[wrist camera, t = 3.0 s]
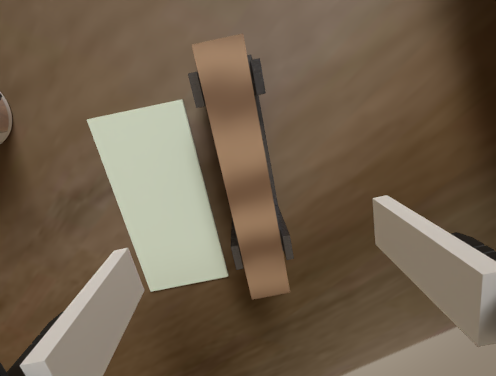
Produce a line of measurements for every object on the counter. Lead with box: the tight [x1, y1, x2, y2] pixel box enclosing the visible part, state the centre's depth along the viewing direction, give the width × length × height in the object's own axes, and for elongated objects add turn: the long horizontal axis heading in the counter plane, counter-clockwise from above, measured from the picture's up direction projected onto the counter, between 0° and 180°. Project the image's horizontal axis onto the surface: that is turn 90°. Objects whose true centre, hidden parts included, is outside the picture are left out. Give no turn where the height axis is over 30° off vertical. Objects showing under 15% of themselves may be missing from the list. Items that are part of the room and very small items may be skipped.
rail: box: [192, 34, 290, 300], centre depth 27 cm, size 24×4×6 cm, turn 11°
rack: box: [188, 55, 294, 270], centre depth 33 cm, size 25×7×12 cm, turn 11°
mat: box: [87, 99, 228, 292], centre depth 41 cm, size 28×13×1 cm, turn 11°
